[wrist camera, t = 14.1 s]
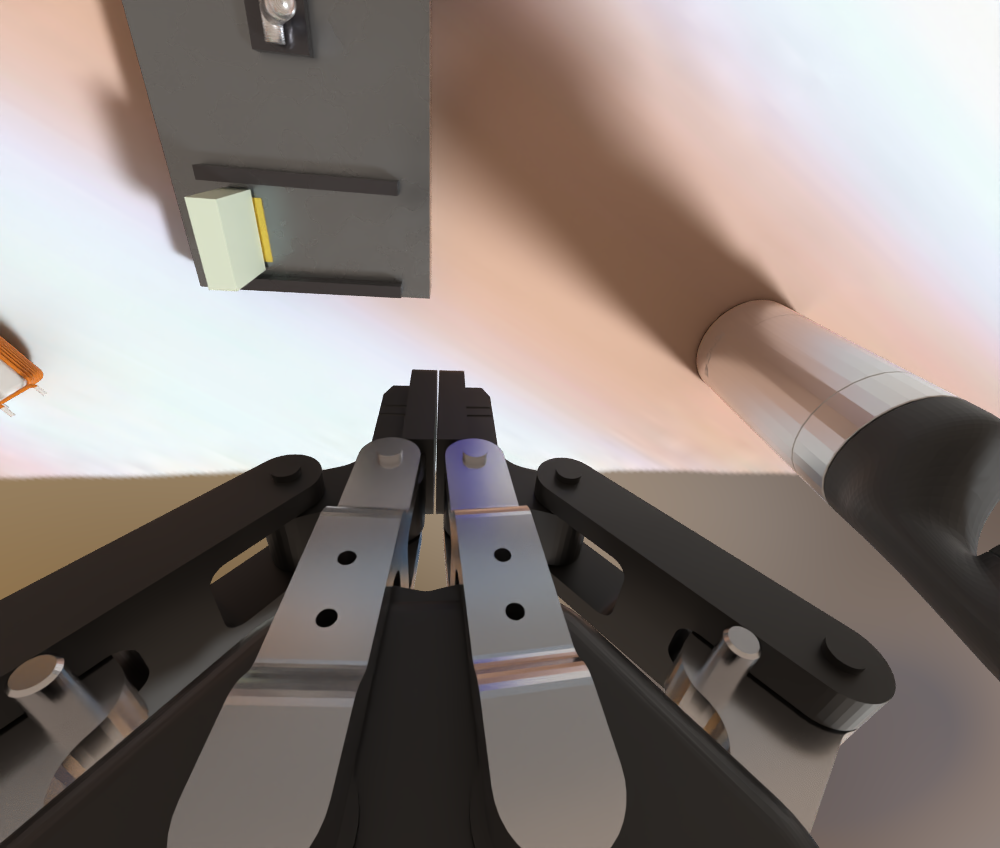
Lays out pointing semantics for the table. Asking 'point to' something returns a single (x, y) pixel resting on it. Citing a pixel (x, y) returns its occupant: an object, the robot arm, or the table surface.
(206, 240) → the pale green eraser block
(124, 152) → the table surface
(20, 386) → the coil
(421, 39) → the panel
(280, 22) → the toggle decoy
